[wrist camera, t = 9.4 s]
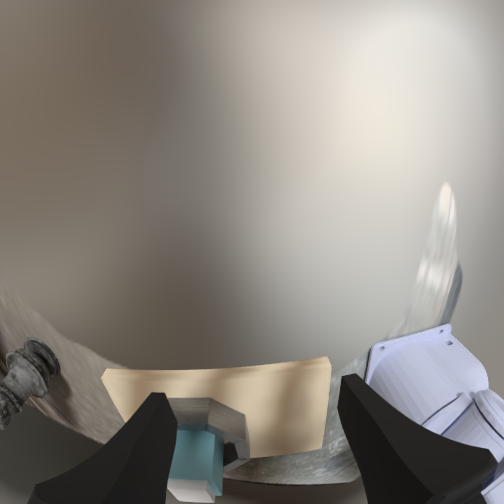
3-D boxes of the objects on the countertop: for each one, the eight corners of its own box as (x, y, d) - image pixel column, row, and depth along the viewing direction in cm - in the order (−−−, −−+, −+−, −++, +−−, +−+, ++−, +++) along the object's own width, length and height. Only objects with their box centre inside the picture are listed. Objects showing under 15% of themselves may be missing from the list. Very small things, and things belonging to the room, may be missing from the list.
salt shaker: (70, 381, 22) (22, 460, 11) (36, 375, 22) (-12, 440, 11) (48, 336, 21) (-18, 413, 9) (15, 332, 21) (-46, 395, 9)
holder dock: (326, 356, 22) (342, 391, 18) (319, 438, 26) (326, 468, 21) (106, 368, 22) (88, 399, 17) (149, 446, 25) (142, 474, 21)
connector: (216, 413, 22) (211, 488, 14) (224, 437, 23) (221, 504, 15) (173, 414, 22) (158, 484, 14) (185, 437, 23) (175, 502, 15)
